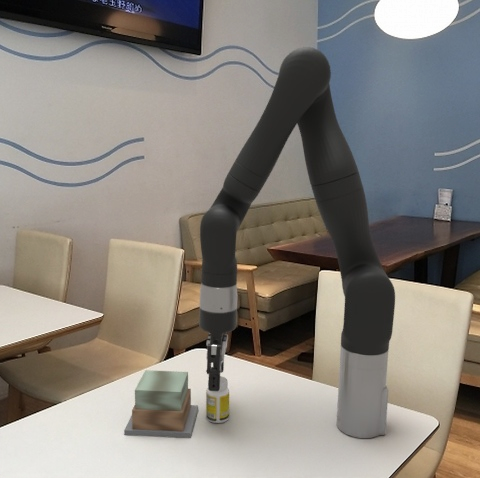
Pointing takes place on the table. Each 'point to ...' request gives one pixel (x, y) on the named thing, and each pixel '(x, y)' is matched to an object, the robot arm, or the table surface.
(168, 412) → the brick tower
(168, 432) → the baseplate
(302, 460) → the table surface
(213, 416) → the supplement bottle
